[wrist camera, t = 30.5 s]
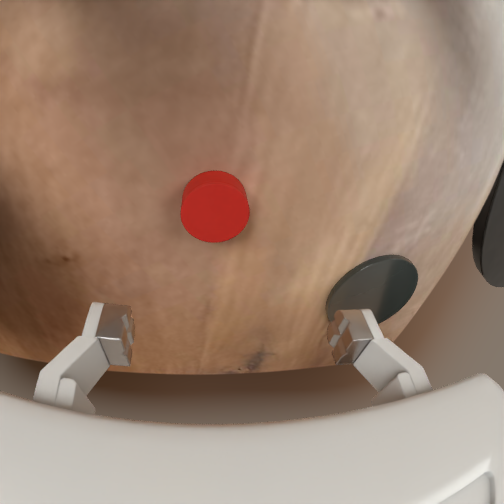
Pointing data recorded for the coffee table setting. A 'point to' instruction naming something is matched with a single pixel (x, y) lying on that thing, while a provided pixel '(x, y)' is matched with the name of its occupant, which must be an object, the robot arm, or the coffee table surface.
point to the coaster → (375, 287)
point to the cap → (214, 207)
